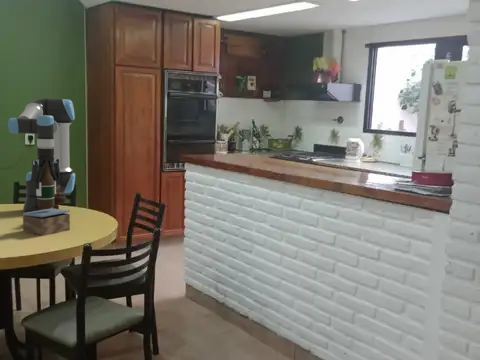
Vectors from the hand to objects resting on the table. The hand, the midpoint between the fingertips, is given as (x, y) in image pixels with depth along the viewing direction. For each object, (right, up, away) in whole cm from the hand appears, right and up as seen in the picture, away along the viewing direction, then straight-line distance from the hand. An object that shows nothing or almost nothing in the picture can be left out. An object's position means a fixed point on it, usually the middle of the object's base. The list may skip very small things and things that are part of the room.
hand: (46, 194), depth 243 cm
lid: (0, -9, +1) cm, 9 cm away
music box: (-4, -15, +22) cm, 27 cm away
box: (-1, -18, +2) cm, 18 cm away
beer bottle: (-1, -6, +1) cm, 6 cm away
